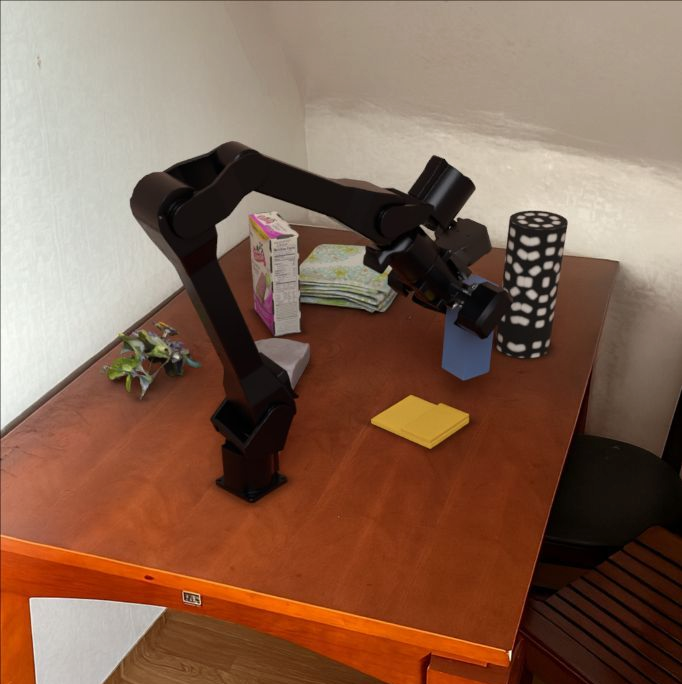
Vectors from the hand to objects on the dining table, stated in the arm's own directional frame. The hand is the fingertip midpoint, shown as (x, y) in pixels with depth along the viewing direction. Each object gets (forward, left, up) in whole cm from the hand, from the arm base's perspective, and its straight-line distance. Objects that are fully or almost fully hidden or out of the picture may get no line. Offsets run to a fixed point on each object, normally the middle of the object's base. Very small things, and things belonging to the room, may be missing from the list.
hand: (477, 322), depth 125 cm
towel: (+21, +39, -13) cm, 46 cm away
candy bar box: (+2, +39, -13) cm, 41 cm away
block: (-1, 0, -7) cm, 7 cm away
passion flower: (-26, +37, -13) cm, 47 cm away
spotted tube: (+21, +4, -13) cm, 25 cm away
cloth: (-9, +2, -12) cm, 15 cm away
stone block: (-12, +27, -13) cm, 32 cm away
